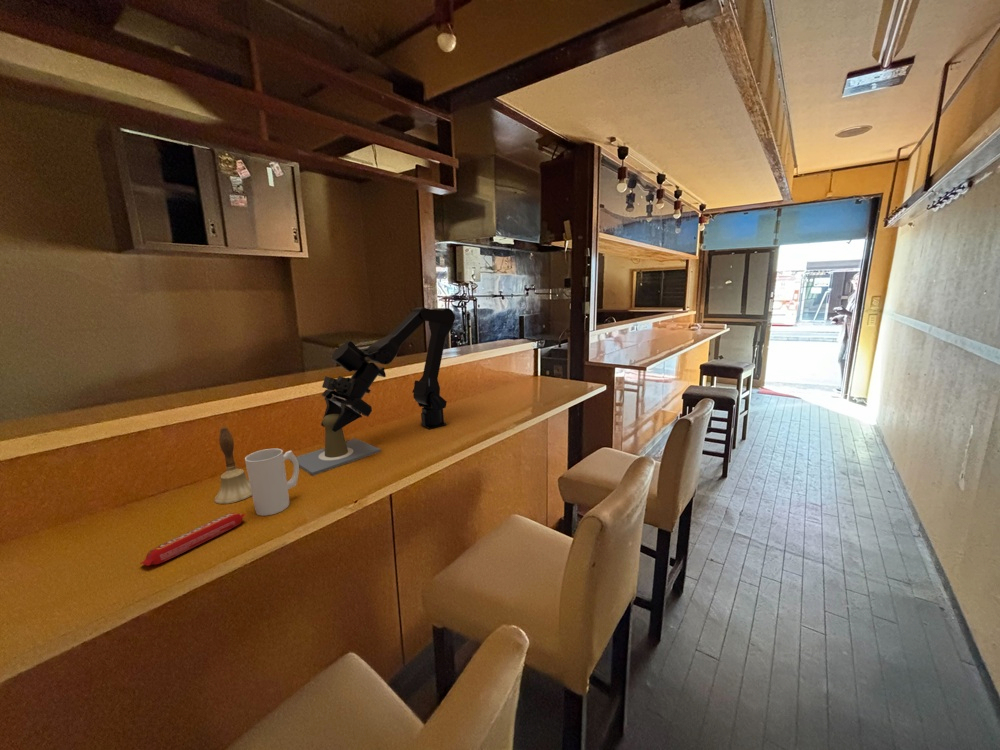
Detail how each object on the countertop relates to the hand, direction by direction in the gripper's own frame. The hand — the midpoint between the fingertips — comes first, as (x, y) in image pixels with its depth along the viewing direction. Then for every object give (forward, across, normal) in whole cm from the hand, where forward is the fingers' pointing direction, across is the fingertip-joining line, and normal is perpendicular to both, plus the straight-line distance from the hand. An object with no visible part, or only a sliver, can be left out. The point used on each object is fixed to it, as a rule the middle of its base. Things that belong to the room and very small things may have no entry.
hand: (327, 428), depth 108 cm
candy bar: (+30, +19, -17) cm, 39 cm away
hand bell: (+23, +3, -10) cm, 25 cm away
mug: (+19, +16, -7) cm, 26 cm away
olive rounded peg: (+4, 0, +6) cm, 8 cm away
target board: (+5, 0, +7) cm, 9 cm away
